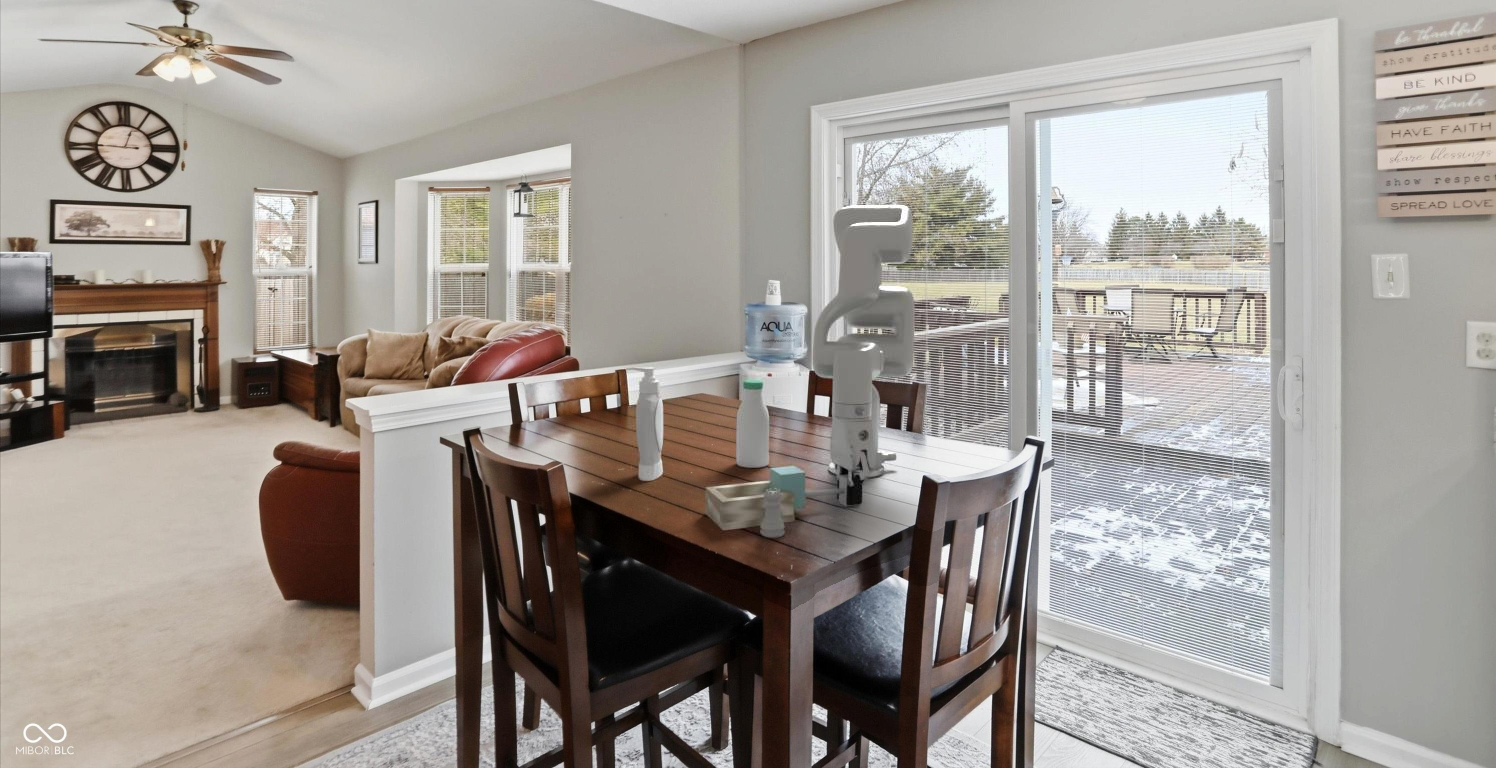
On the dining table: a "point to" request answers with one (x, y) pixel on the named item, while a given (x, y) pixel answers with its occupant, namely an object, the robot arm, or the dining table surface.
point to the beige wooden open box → (744, 505)
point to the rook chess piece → (772, 515)
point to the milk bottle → (752, 427)
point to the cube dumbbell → (803, 485)
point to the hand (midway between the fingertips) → (849, 500)
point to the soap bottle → (649, 425)
